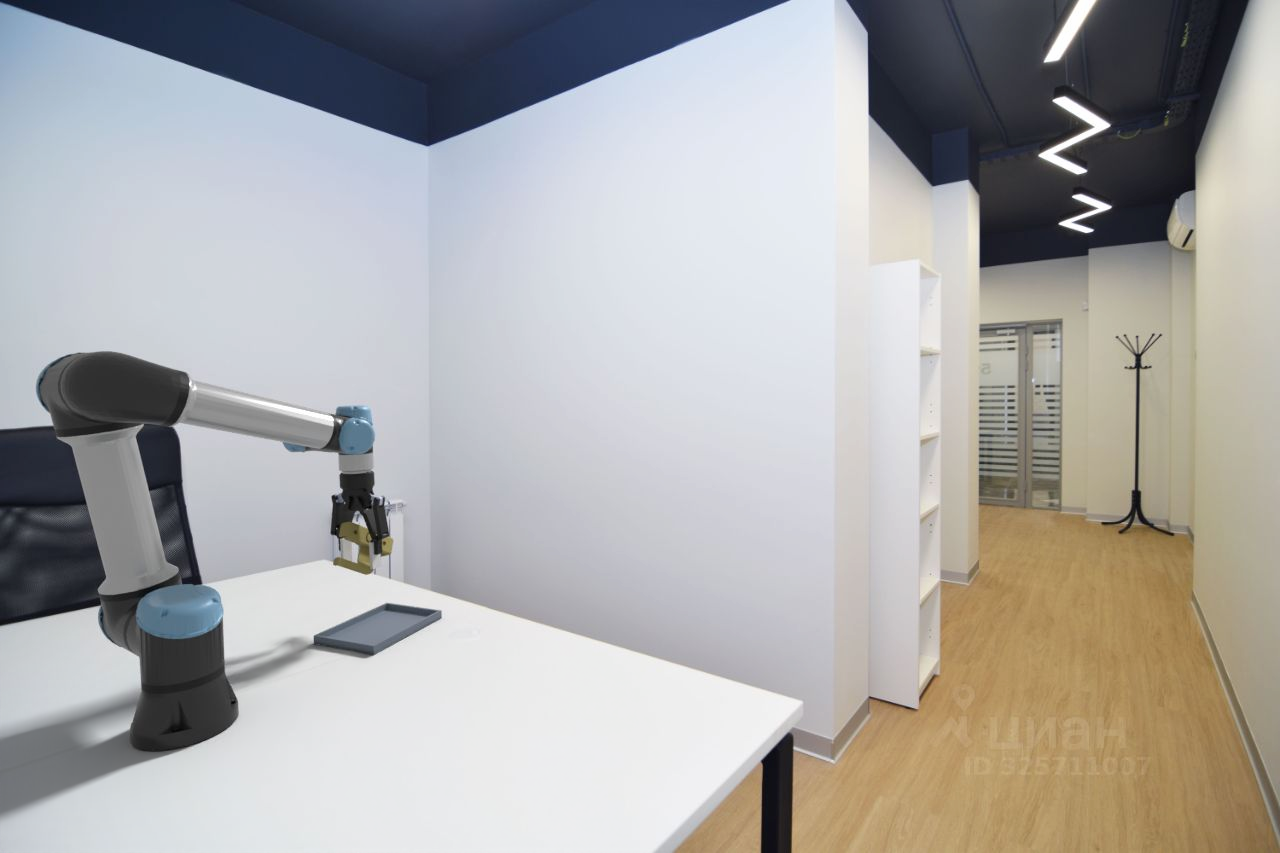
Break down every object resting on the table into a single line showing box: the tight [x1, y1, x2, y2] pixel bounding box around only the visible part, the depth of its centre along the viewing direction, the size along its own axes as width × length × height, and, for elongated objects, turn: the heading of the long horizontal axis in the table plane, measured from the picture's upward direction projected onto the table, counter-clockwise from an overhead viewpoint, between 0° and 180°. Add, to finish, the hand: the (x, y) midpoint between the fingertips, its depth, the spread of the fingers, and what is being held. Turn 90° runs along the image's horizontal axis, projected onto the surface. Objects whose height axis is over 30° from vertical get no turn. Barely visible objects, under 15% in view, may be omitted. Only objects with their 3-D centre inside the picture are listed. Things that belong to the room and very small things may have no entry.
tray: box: [313, 602, 443, 656], centre depth 151 cm, size 23×17×2 cm
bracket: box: [332, 521, 394, 576], centre depth 149 cm, size 10×14×10 cm
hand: (361, 565), depth 149 cm, fingers closed on bracket, 8 cm apart
